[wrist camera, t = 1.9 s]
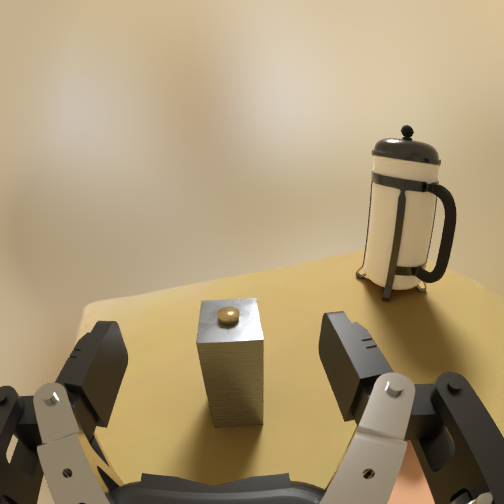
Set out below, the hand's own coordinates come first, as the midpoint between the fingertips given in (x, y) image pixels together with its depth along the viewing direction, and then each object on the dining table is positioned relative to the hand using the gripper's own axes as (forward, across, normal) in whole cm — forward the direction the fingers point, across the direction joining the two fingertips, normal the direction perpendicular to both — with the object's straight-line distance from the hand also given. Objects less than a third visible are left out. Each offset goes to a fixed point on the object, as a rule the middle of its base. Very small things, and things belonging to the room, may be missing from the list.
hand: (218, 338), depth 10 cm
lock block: (+11, 0, +19) cm, 22 cm away
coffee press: (+33, -31, +19) cm, 49 cm away
